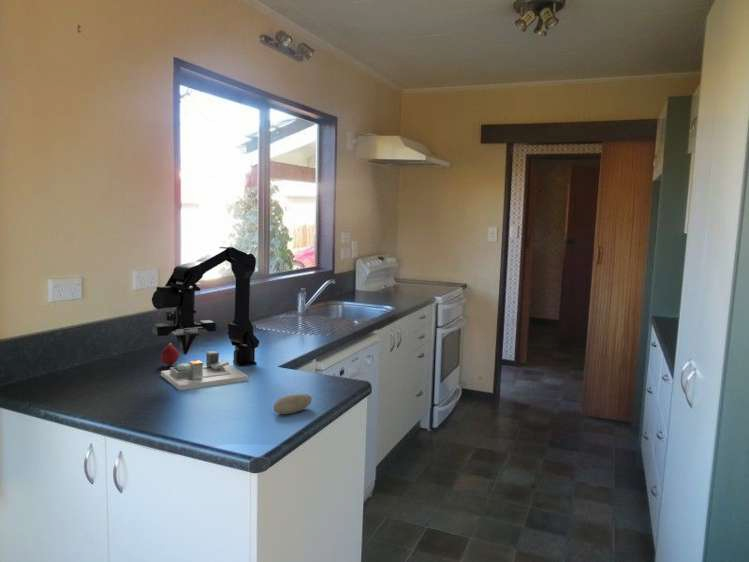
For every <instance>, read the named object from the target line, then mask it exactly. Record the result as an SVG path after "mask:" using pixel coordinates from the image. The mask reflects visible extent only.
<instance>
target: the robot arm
mask: <svg viewBox="0 0 749 562" xmlns="http://www.w3.org/2000/svg"><path fill="white" fill-rule="evenodd" d="M224 262H227V263H229V264H230V266H231V271H232V273H233V275H234V277H235V287H234V288H235V290H234V291H235V293H234V294H235V295H234V318H233V320H232V321H231V322H229V323H228V325H227V328H228V329H227V330H228V331H227V335H228V338H229V340H230V343H231V345H232V346H234V350H233V359H232V363H234V364H236V365H237V366H248V365H250V366H251V365H256V364H257V361H256V360H255V359H256V357H255V354H256V353H255V352H256V348H259V344H260V340H259V339H258V338H257V336H256V335H255V334H254V326H253V324H252V322H251V320H250V294H251V293H250V292H251V291H250V289H251V277H252V276H253V274H254V273H255V270H256V264H257V258H256V257H255V255H254V254H253V253H248V252H244V251H242V250H240V249H237V248H235V247H234V246H228V245H221V246H219V248H217V249H216V250H214V251H211V252H209V254H205V256H203V257H201V258H199V259H197V260H195V261H191V262H187V263H183V264H180V265H177V266H175V267H174V268H173V270H172V272H171V275H170V277H169V279H168V280H167V282H166V283H165V285H164V286H157V287H156V290H155V291H154V292H153V294H152V297H151V303H152V306H153V308H154V309H155V310H166V309H172V308H174V311H173V313H172V311H171V310H168V311H164V313H163V314H164V315H163V320H164V322H165V323H164V322H163V323H154V324H153V326H152V327H151V332H152V334H154V335H155V336H156V337H163V336H166V337H167V336H169V335H170V334H171V335H172V336H174V337H175V338H176V340H178V341H177V342H178V343H179V346H180V349H181V351H182V355H188V353H189V350H190V348H191V346H192V344H193V342H194V340H195V339H196V337H197V336H200V333H199V332H198V331H199V330H205V331H206V333H207V332H208V333H209V332H216V331H217V330H218V329H217V323H216V321H215V322H214V321H213V320H211V319H207V320H206V319H203V320H202V319H201V320H199V321H198V323H197V322H196V321H195V317H196V316H195V315H196V313H197V310H196V309H195V307H196V305H195V304H196V299H195V298H196V292H200V291H201V288H200V287H199V286H198V285H197V283H198V282H199V281H200V280H202V278H203V276H204V275H205V274H206V273H207V272H209V271H211V270H212V269H214V268H216V267H217V266H219V265H221V264H223V263H224ZM167 323H170V325H169V324H167Z"/></svg>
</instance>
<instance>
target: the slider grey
mask: <svg viewBox="0 0 749 562" xmlns="http://www.w3.org/2000/svg"><path fill="white" fill-rule="evenodd" d="M205 354H206V355H205V356H206V358H205V359H206V363H205V364H206V365H205V366H207V367H209V368H212V367H211V366H210V364H213V363H216V362H219V355H220V352H219V351H217V350H209V351H206V352H205Z"/></svg>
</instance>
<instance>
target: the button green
mask: <svg viewBox="0 0 749 562" xmlns="http://www.w3.org/2000/svg"><path fill="white" fill-rule="evenodd" d="M176 367H177V371H179V372H182V371H189V370H190V364H189V363H179V364H177V365H176Z"/></svg>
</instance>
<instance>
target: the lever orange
mask: <svg viewBox="0 0 749 562" xmlns="http://www.w3.org/2000/svg"><path fill="white" fill-rule="evenodd" d="M188 364H190V378H191V379H193V380H194V379H201V378H202V376H203V366H204V362H202V361H201V360H200V359H199V360H191V361H190V360H189V362H188Z"/></svg>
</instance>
